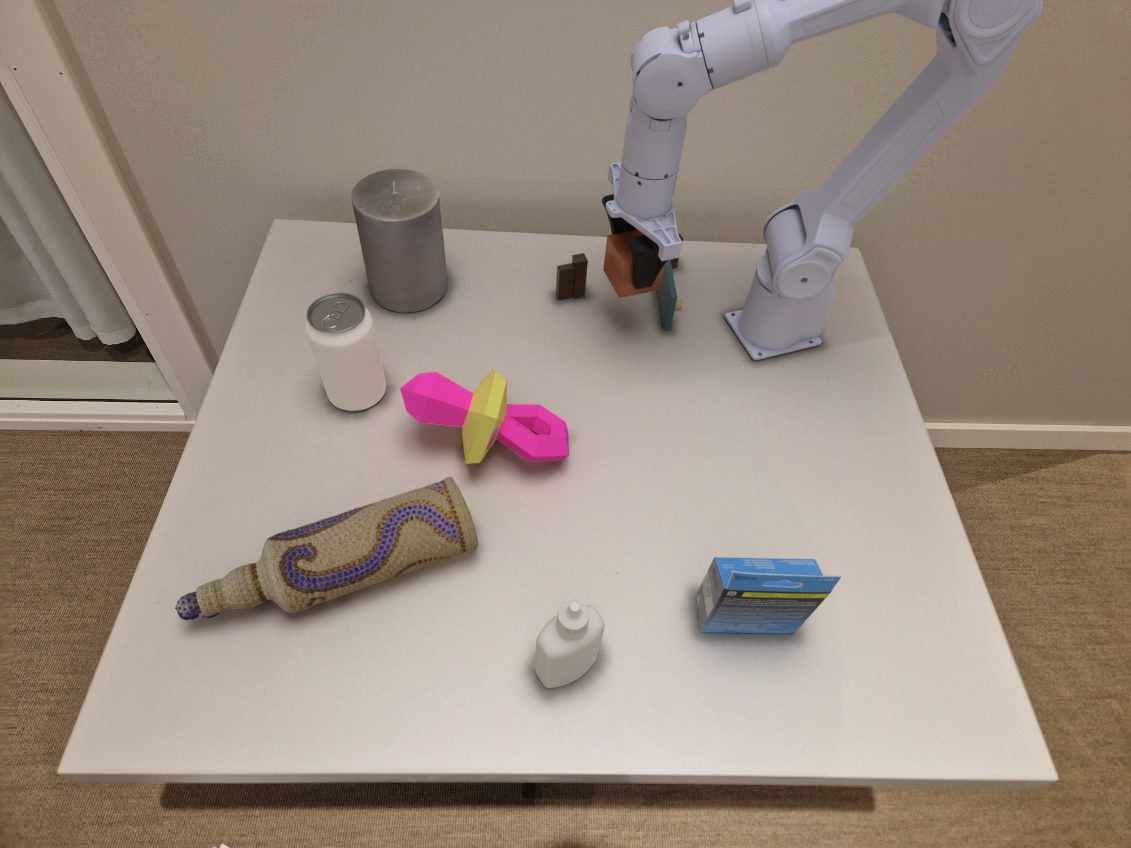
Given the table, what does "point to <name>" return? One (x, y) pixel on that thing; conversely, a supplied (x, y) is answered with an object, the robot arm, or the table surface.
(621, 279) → the block
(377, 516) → the decorative bottle
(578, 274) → the gate
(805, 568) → the label tape box
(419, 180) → the pillar candle
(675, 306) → the gate door
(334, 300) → the can
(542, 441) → the toy
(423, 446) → the table surface
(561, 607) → the eye dropper bottle
